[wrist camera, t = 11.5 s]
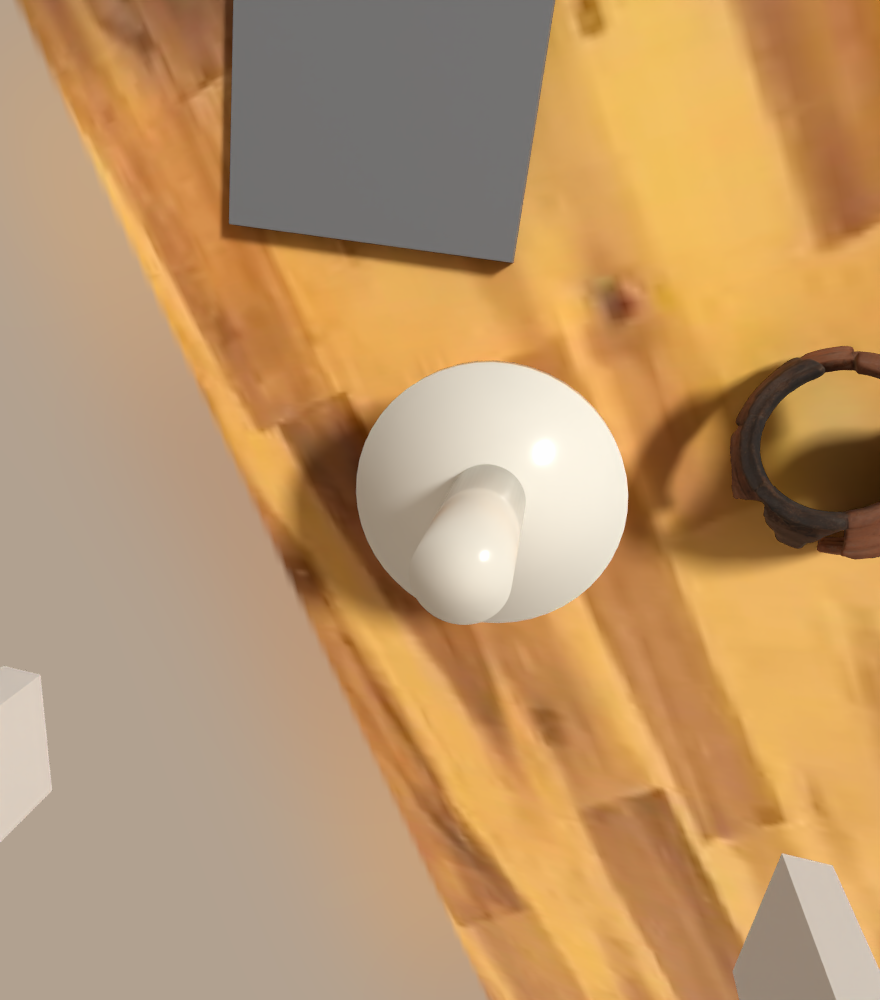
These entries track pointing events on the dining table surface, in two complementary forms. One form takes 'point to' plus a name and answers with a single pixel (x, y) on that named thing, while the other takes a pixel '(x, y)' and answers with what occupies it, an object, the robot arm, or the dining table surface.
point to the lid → (492, 492)
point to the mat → (387, 119)
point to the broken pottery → (793, 524)
